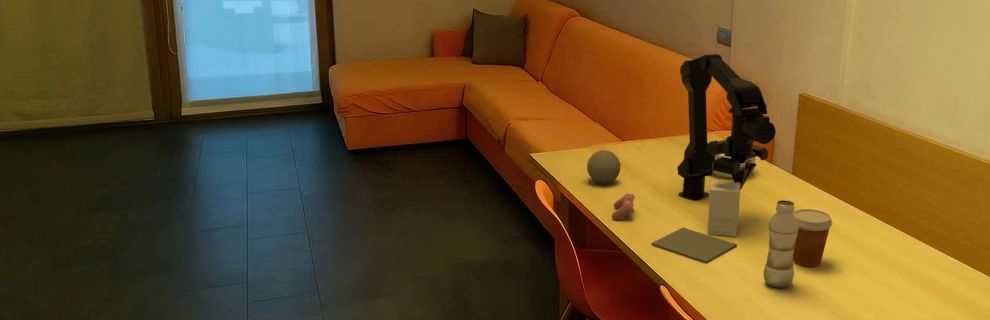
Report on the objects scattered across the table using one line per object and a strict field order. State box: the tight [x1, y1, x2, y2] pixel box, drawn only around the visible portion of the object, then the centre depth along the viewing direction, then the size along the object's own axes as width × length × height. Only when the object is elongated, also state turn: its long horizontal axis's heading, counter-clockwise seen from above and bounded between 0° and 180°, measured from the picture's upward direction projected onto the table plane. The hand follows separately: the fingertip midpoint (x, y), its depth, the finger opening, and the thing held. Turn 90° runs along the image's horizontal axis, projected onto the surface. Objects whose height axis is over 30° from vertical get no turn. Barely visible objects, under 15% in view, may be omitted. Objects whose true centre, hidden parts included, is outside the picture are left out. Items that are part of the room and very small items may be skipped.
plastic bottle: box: [763, 199, 799, 288], centre depth 203 cm, size 6×7×20 cm
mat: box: [650, 227, 738, 264], centre depth 227 cm, size 14×16×1 cm
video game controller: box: [611, 192, 636, 221], centre depth 247 cm, size 10×5×7 cm, turn 169°
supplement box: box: [707, 179, 741, 238], centre depth 234 cm, size 7×7×13 cm
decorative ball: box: [586, 149, 621, 185], centre depth 271 cm, size 10×10×10 cm
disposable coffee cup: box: [793, 208, 833, 268], centre depth 216 cm, size 10×10×12 cm
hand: (738, 190), depth 238 cm, fingers closed
